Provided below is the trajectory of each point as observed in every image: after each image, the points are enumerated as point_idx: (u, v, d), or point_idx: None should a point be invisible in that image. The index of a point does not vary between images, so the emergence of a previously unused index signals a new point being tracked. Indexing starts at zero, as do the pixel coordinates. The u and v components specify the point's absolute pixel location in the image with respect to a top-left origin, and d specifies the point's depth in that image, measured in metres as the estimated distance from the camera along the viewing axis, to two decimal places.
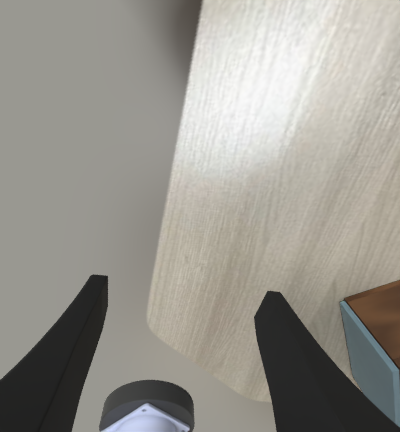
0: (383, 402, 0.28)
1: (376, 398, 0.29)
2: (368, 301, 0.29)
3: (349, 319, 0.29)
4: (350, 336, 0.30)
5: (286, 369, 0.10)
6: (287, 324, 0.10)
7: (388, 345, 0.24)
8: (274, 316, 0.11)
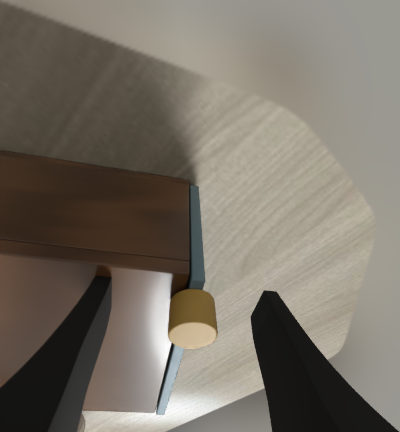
0: None
1: None
2: None
3: None
4: None
5: (282, 369, 0.10)
6: (283, 324, 0.10)
7: None
8: (271, 315, 0.11)
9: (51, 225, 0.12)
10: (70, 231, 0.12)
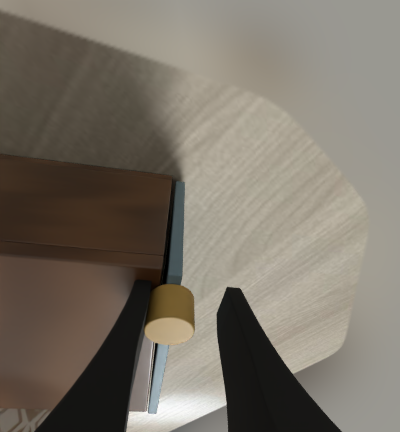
0: None
1: None
2: None
3: None
4: None
5: (237, 367, 0.10)
6: (240, 321, 0.10)
7: None
8: (230, 312, 0.11)
9: (25, 223, 0.12)
10: (43, 228, 0.12)
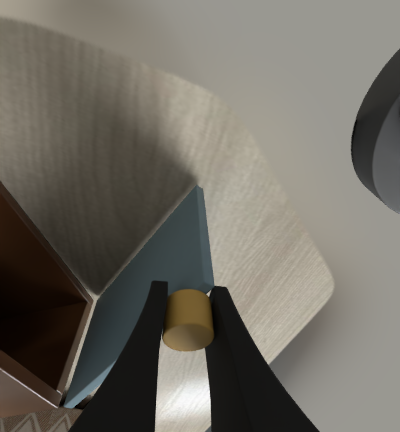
0: None
1: None
2: None
3: None
4: None
5: (220, 366, 0.10)
6: (224, 319, 0.10)
7: None
8: (215, 311, 0.11)
9: None
10: None
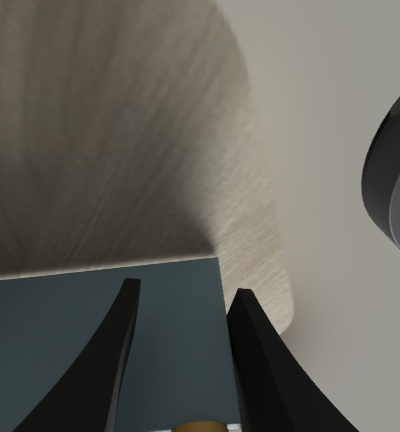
0: None
1: None
2: None
3: None
4: None
5: (251, 367, 0.10)
6: (253, 322, 0.10)
7: None
8: (243, 313, 0.11)
9: None
10: None
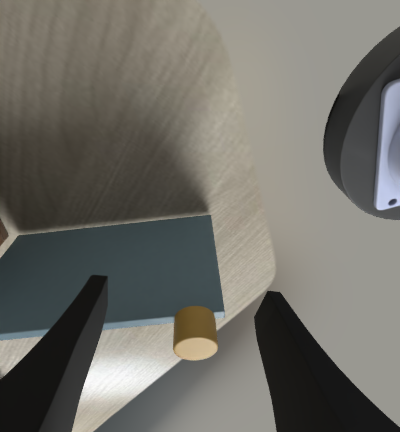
0: None
1: None
2: None
3: None
4: None
5: (286, 369, 0.10)
6: (287, 324, 0.10)
7: None
8: (274, 316, 0.11)
9: None
10: None
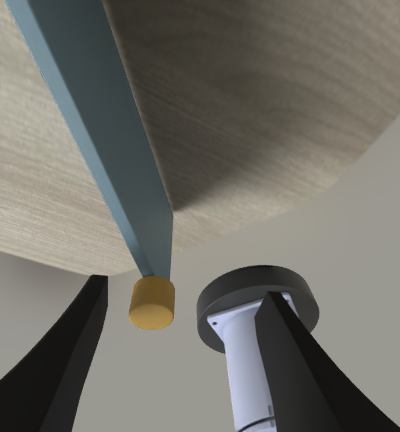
0: None
1: None
2: None
3: None
4: None
5: (286, 369, 0.10)
6: (287, 324, 0.10)
7: None
8: (275, 316, 0.11)
9: None
10: None
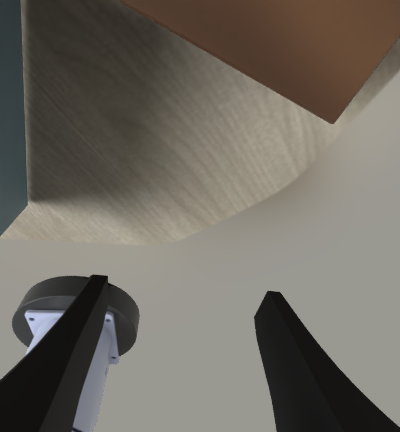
0: None
1: None
2: None
3: None
4: None
5: (286, 369, 0.10)
6: (287, 324, 0.10)
7: None
8: (274, 316, 0.11)
9: None
10: None
